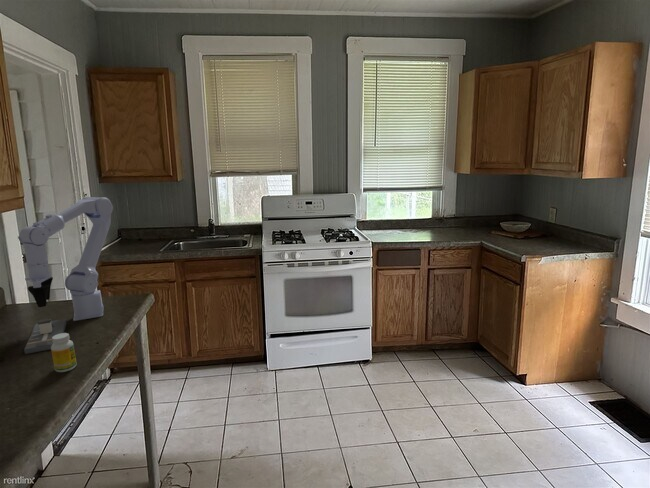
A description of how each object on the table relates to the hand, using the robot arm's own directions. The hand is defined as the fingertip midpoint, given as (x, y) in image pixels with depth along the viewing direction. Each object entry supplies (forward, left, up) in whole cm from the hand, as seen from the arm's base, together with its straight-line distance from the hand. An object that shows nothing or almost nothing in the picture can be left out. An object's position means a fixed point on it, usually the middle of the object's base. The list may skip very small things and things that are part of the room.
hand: (44, 303), depth 145 cm
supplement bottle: (-8, +32, -10) cm, 35 cm away
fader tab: (0, +5, -8) cm, 10 cm away
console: (0, +5, -10) cm, 11 cm away
